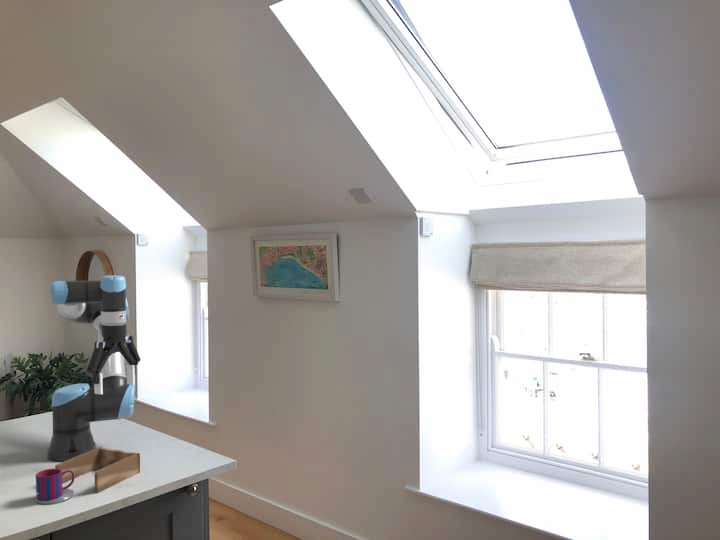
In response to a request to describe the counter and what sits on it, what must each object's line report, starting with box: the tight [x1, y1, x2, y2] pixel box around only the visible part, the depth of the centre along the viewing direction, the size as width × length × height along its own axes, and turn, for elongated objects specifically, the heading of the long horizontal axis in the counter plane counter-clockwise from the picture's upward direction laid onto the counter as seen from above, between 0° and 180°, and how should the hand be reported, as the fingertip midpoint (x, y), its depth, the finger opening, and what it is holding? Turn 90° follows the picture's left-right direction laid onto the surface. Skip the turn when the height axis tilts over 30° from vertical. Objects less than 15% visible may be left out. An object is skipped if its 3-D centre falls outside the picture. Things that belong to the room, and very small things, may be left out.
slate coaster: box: [34, 488, 75, 505], centre depth 183 cm, size 10×10×1 cm
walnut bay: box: [54, 446, 141, 494], centre depth 197 cm, size 16×18×6 cm
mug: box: [35, 468, 75, 501], centre depth 183 cm, size 7×10×7 cm
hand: (115, 389), depth 207 cm, fingers open, 13 cm apart
